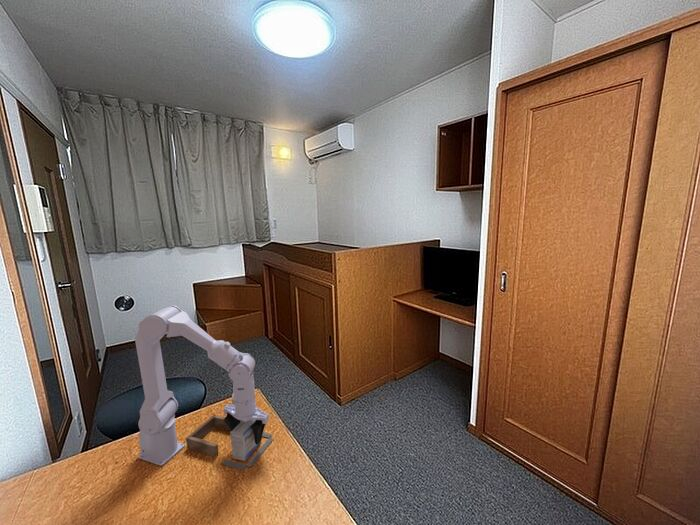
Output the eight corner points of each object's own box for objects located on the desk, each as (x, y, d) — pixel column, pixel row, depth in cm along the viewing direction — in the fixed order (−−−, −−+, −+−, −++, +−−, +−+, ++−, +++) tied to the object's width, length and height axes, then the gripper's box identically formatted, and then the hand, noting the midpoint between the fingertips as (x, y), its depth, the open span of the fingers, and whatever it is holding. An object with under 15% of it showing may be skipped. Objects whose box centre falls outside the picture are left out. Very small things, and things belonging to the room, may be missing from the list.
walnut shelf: (187, 448, 90) (186, 438, 90) (214, 424, 101) (214, 414, 100) (215, 457, 87) (214, 446, 86) (241, 431, 97) (240, 421, 97)
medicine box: (245, 462, 85) (242, 434, 83) (232, 458, 86) (229, 431, 85) (261, 442, 92) (260, 416, 91) (249, 439, 94) (247, 414, 92)
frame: (222, 464, 84) (222, 463, 84) (253, 430, 97) (253, 429, 97) (247, 472, 82) (247, 471, 81) (276, 436, 95) (276, 435, 95)
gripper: (274, 393, 88) (276, 435, 91) (233, 385, 93) (236, 425, 95) (259, 408, 82) (262, 452, 84) (216, 398, 86) (220, 440, 89)
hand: (247, 439), depth 89 cm, fingers open, 7 cm apart
